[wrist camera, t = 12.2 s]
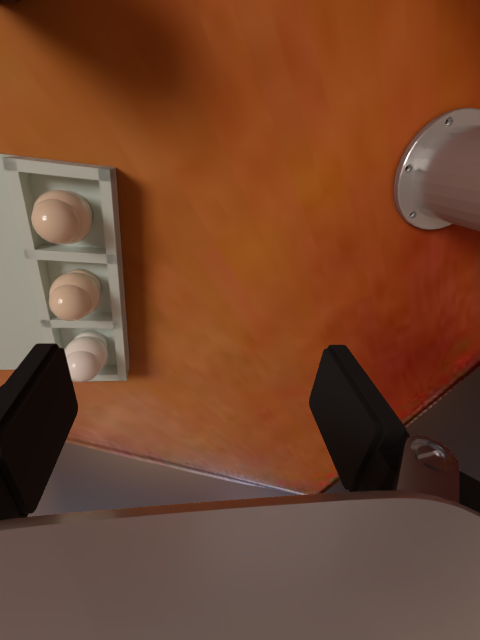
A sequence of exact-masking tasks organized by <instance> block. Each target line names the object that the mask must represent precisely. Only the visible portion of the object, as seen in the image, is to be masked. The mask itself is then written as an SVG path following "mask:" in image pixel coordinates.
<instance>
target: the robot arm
mask: <svg viewBox="0 0 480 640" xmlns="http://www.w3.org/2000/svg"><path fill="white" fill-rule="evenodd" d="M394 200H395V204H396V207H397V210H398V212H399V214H400V215H401V217H402V218H403V219H404V220H405V221H406V222H407V223H409V224H411V225H413V226H415V227H418V228H421V229H428V230H433V229H440V228H443V227H446V226H449V225H451V224H456V225H459V226H462V227H466V228H469V229H472V230H476V231H479V232H480V109H475V108H464V109H456V110H453V111H449V112H446V113H444V114H442V115H440V116H438V117H437V118H435V119H433V120H432V121H431V122H430V123H428V124H427V125H426V126H424V128H423V129H422V130H421V131H420V132H419V133H418V134H417V135H416V136H415V137H414V139H413V140H412V141H411V143H410V144H409V145H408V147H407V149H406V150H405V152H404V154H403V156H402V158H401V160H400V163H399V166H398V168H397V171H396V176H395V180H394ZM309 405H310V409H311V411H312V414H313V416H314V418H315V421H316V423H317V425H318V428H319V430H320V432H321V435H322V437H323V439H324V442H325V444H326V446H327V449H328V451H329V454H330V456H331V458H332V461H333V463H334V465H335V468H336V470H337V472H338V475H339V477H340V479H341V482H342V484H343V486H344V488H345V489H347V490H348V489H349V491H350V492H340V493H323V494H309V495H295V496H281V497H267V498H255V499H254V498H253V499H241V500H226V501H213V502H201V503H187V504H174V505H161V506H150V507H138V508H124V509H112V510H101V511H87V512H75V513H65V514H54V515H44V516H34V517H27V516H28V514H29V513H33V512H34V511H35V510H36V508H37V506H38V503H39V501H40V499H41V496H42V494H43V492H44V489H45V487H46V485H47V482H48V480H49V478H50V475H51V473H52V471H53V469H54V466H55V464H56V461H57V459H58V457H59V455H60V452H61V450H62V448H63V445H64V443H65V441H66V438H67V436H68V434H69V431H70V429H71V427H72V424H73V422H74V420H75V418H76V415H77V411H78V403H77V399H76V395H75V391H74V387H73V383H72V379H71V375H70V371H69V367H68V362H67V358H66V354H65V351H64V349H63V348H59V346H58V345H57V344H55V343H38V344H36V345H35V346H34V347H33V348H32V349H31V351H30V352H29V353H28V354H27V356H26V357H25V358H24V360H23V361H22V362H21V363H20V365H19V366H18V367H17V369H16V370H15V371H14V372H13V374H12V375H11V376H10V378H9V379H8V380H7V381H6V383H5V384H3V385H2V386H1V387H0V640H480V482H479V481H477V480H476V479H474V478H472V477H470V476H468V475H466V474H464V473H463V472H461V471H459V465H458V461H457V460H456V458H455V456H454V455H453V454H452V453H451V451H450V450H449V449H448V448H447V447H445V446H444V445H443V444H441V443H440V442H438V441H436V440H435V439H433V438H430V437H427V436H423V435H412V436H409V434H408V433H407V431H406V428H405V426H404V425H403V424H402V422H401V421H400V419H399V418H398V417H397V415H396V414H395V413H394V411H393V410H392V408H391V407H390V406H389V404H388V403H387V402H386V400H385V399H384V397H383V396H382V395H381V393H380V392H379V391H378V389H377V388H376V386H375V385H374V384H373V382H372V381H371V380H370V378H369V377H368V375H367V374H366V373H365V371H364V370H363V369H362V367H361V366H360V364H359V363H358V362H357V360H356V359H355V358H354V356H353V355H352V353H351V352H350V351H349V349H348V348H347V347H346V346H345V345H329V347H328V348H327V349H324V351H323V354H322V357H321V361H320V364H319V368H318V371H317V375H316V378H315V382H314V385H313V388H312V392H311V395H310V399H309Z"/></svg>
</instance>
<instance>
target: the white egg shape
mask: <svg viewBox="0 0 480 640" xmlns="http://www.w3.org/2000/svg"><path fill="white" fill-rule="evenodd" d="M107 349H108V341H107V339H106V337H105V336H104V335H102V334H101V333H99V332H96V331H92V330H87V331H82V332H80V333H78V334H77V335H76V337H75V338H74V340H72V341H71V342H70V343H69V344H68V345H67V346H66V348H65V350H64V351H65V354H66V358H67V362H68V367H69V371H70V375H71V379H72V380H73V381H76V382H86V381H89V380H91V379H93V378H94V377H95V376H96V375H97V374H98V372H100V371H101V370H102V369H103V368H104V366H105V365H106V363H107V360H108V351H107Z"/></svg>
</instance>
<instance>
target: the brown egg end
mask: <svg viewBox="0 0 480 640" xmlns="http://www.w3.org/2000/svg"><path fill="white" fill-rule="evenodd" d="M93 218H94V214H93V210H92V207H91V205H90V204H89V202H88V201H87V200H86V199H85V198H84V197H83V196H81V195H80V194H78V193H75V192H72V191H64V190H52V191H48V192H45V193H44V194H42V195H41V196H39V197H38V199H37V200H36V202H35V203H34V206H33V211H32V216H31V220H32V225H33V227H34V229H35V231H36V232H37V233H38V234H39V235H40V236H41V237H42V238H43V239H45V240H47V241H49V242H51V243H55V244H74V243H77V242H80V241H81V240H83V239H84V238H85V237H86V236H87V235H88V234H89V232H90V230H91V227H92V222H93Z"/></svg>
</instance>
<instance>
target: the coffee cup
mask: <svg viewBox="0 0 480 640" xmlns="http://www.w3.org/2000/svg"><path fill="white" fill-rule="evenodd" d="M17 1H20V0H0V2H2V3H14V2H17Z"/></svg>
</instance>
